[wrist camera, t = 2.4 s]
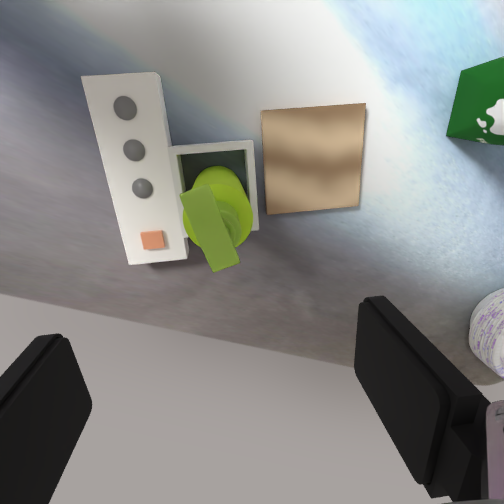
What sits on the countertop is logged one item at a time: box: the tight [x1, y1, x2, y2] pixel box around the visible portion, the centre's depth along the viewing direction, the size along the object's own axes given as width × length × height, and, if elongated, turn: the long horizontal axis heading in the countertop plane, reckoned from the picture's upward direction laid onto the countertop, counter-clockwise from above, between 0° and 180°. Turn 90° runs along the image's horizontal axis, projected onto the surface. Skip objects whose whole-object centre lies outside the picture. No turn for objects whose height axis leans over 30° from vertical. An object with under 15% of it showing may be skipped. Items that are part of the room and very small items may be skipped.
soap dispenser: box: [179, 166, 253, 273], centre depth 27 cm, size 6×7×20 cm
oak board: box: [261, 103, 366, 215], centre depth 36 cm, size 12×12×1 cm
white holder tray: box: [81, 72, 259, 265], centre depth 34 cm, size 20×16×4 cm
